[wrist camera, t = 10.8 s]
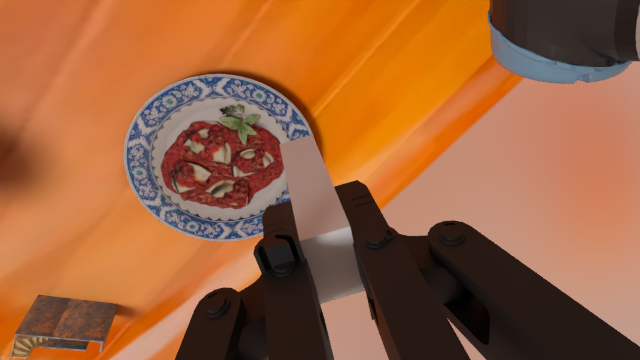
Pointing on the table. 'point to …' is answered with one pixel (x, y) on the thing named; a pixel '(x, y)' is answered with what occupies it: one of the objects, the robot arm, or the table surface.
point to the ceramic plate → (212, 155)
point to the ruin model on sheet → (63, 325)
